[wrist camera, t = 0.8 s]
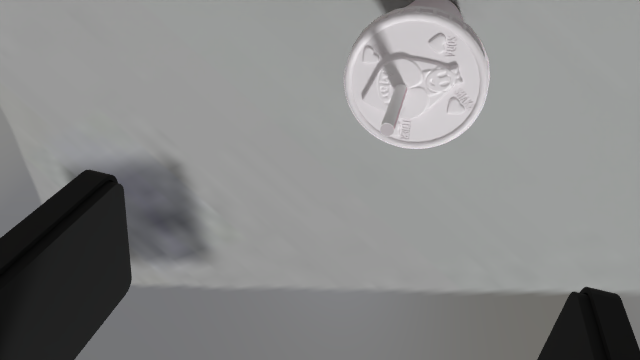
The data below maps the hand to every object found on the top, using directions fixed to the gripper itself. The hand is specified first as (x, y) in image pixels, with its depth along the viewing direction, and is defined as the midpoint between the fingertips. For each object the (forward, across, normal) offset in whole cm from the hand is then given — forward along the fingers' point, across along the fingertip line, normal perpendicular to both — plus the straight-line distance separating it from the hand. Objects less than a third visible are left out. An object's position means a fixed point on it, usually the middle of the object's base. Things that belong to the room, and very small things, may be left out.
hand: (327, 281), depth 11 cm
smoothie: (+24, -1, +1) cm, 24 cm away
